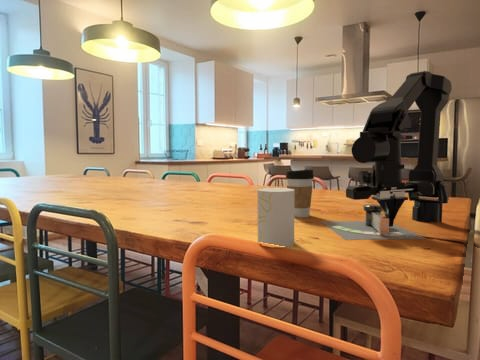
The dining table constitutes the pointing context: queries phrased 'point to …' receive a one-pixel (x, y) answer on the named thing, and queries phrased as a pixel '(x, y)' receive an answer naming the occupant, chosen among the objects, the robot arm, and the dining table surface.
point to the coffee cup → (301, 190)
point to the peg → (376, 218)
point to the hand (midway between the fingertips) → (390, 226)
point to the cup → (276, 216)
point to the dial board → (367, 231)
